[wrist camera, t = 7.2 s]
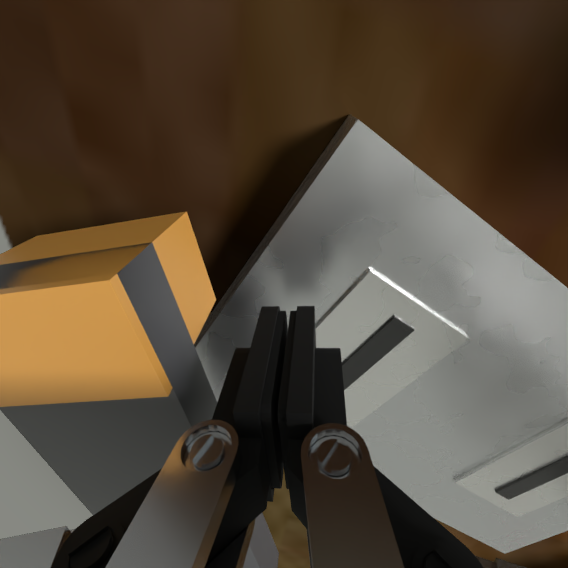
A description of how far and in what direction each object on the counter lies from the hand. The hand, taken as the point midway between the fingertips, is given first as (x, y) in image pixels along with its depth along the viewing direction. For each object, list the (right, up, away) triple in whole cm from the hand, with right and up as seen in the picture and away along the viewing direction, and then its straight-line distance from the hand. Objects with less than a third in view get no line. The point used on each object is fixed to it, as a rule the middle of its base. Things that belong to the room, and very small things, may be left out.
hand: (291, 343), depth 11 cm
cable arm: (-4, -4, +3) cm, 6 cm away
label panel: (+8, -3, +7) cm, 11 cm away
